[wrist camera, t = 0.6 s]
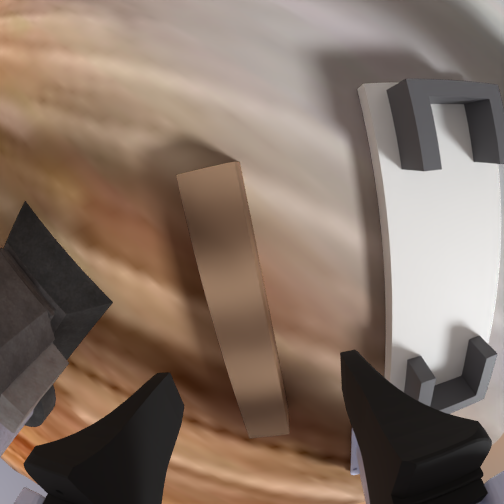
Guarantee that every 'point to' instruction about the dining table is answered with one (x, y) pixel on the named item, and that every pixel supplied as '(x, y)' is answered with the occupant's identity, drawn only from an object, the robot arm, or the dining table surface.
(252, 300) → the walnut slat
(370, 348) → the dining table surface
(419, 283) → the end cap cradle
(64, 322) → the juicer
